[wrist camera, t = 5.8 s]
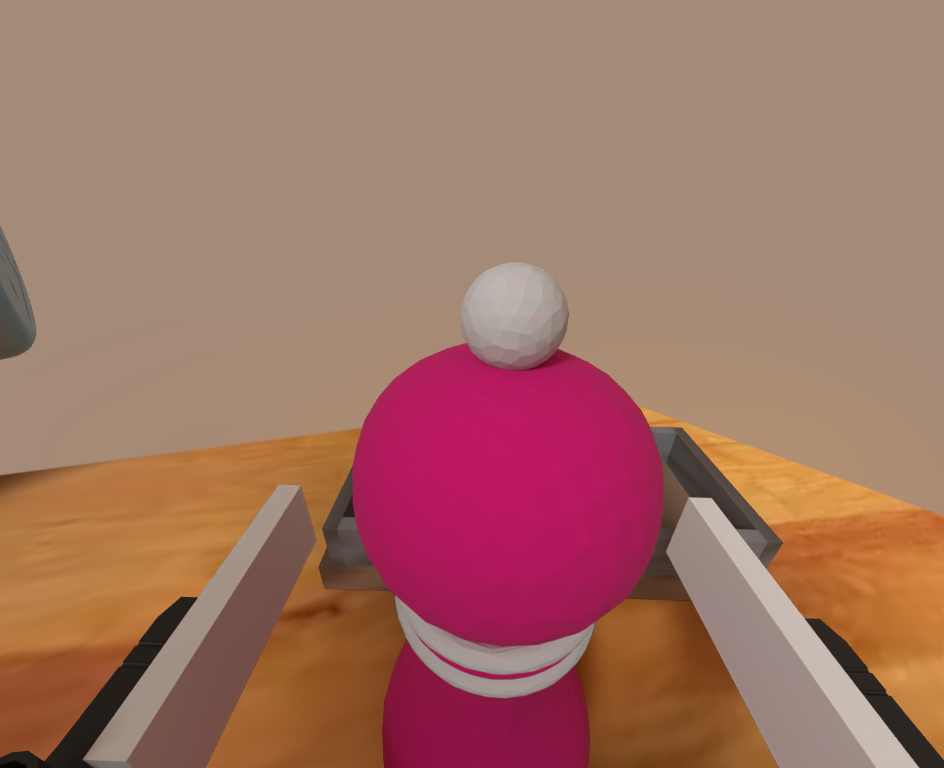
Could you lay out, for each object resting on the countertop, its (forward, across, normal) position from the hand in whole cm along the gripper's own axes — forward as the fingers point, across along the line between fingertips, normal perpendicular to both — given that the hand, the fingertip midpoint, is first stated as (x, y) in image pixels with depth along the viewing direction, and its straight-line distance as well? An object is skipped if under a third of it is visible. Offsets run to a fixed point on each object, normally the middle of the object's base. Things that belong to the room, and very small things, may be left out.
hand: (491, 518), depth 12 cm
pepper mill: (-3, 0, -11) cm, 12 cm away
